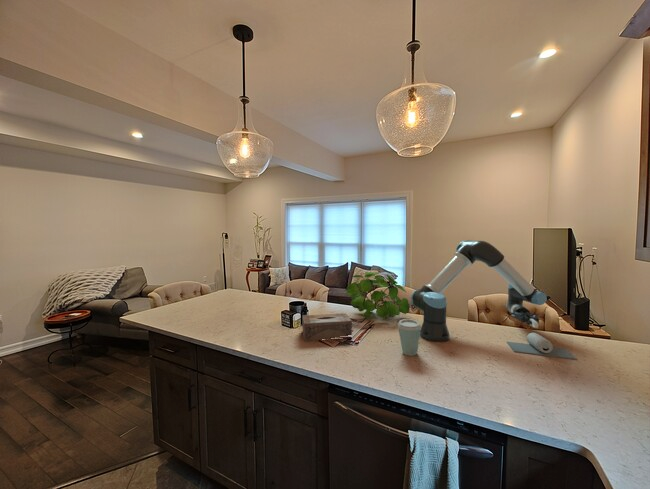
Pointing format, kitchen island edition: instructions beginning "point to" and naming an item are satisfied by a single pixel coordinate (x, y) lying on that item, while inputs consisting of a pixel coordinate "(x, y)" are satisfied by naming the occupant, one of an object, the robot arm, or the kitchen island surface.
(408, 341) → the disposable coffee cup
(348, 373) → the kitchen island surface
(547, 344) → the beverage can
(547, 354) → the blue-grey rectangular board
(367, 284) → the indoor plant
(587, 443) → the kitchen island surface
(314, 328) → the tissue box cover
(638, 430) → the kitchen island surface
